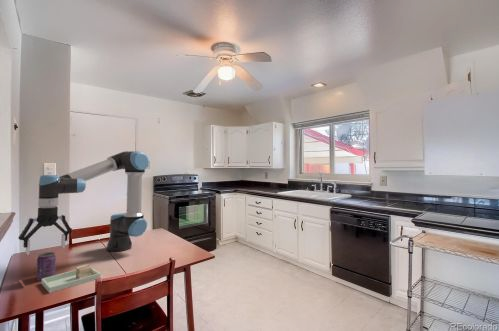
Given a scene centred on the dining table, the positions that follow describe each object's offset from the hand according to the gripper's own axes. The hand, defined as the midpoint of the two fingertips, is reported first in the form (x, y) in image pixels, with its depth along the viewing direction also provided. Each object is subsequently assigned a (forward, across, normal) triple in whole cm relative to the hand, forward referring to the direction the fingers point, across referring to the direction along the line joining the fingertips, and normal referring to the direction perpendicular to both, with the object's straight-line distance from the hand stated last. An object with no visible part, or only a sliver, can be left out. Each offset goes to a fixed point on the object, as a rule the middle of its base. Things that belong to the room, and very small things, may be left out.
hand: (46, 250), depth 123 cm
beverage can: (+14, 0, 0) cm, 14 cm away
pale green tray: (+14, +8, -12) cm, 20 cm away
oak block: (+13, +12, -12) cm, 22 cm away
